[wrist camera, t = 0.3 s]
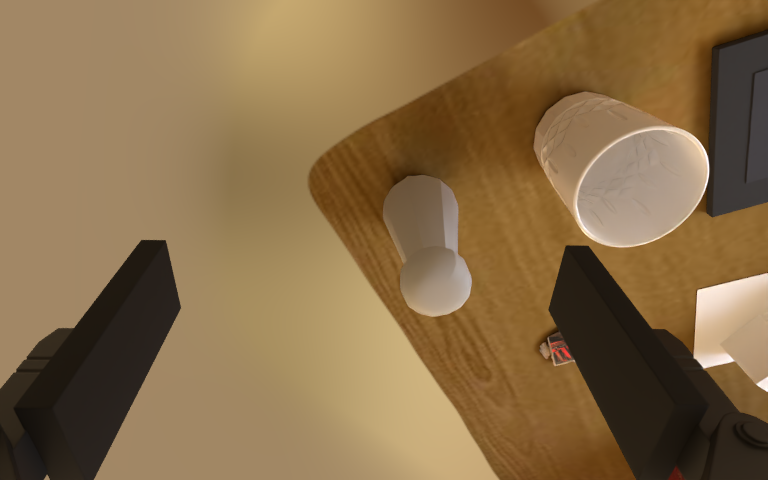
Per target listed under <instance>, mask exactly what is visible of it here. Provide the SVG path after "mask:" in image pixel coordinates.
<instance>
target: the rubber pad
mask: <svg viewBox="0 0 768 480" xmlns="http://www.w3.org/2000/svg"><path fill="white" fill-rule="evenodd" d="M708 161H709V178H708V187H707V214H708V215H710V216H711V217H715V216H719V215H722V214H726V213H730V212H733V211H737V210H740V209H744V208H748V207H751V206H755V205H759V204H762V203H766V202H768V30H766V31H763V32H760V33H757V34H753V35H750V36H747V37H744V38H741V39H738V40H735V41H731V42H728V43H725V44H722V45H719V46H716V47H713V48H712V75H711V103H710V131H709V159H708Z"/></svg>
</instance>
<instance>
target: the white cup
mask: <svg viewBox="0 0 768 480" xmlns="http://www.w3.org/2000/svg"><path fill="white" fill-rule="evenodd" d="M533 148H534V151H535V153H536V156H537V158H538V161H539V164H540V165H541V167H542V168H543V170H544V172H545V174H546V176H547V178H548V179H549V181H550V183H551V184H552V186H553V187H554V189H555V191H556V192H557V194H558V195H559V197H560V198H561V200H562V201H563V203H564V204H565V206H566V207H567V209H568V210H569V212H570V213H571V215H572V216H573V218H574V219H575V221H576V222H577V224H578V225H579V227H580V228H581V230H582V231H583V232H584V233H585V234H586V235H587V236H588V237H590V238H591V239H592V240H594V241H596V242H598V243H600V244H603V245H607V246H612V247H633V246H638V245H642V244H646V243H649V242H652V241H654V240H656V239H659V238H661V237H662V236H664V235H666V234H668V233H669V232H671V231H672V230H674V229H675V228H676V227H678V226H679V225H680V224H681V223H682V222H683V221H685V220H686V219H687V217H688V216H689V215H690V214H691V213H692V212H693V211H694V209H695V208H696V206H697V205H698V203H699V202H700V200H701V198H702V196H703V194H704V192H705V189H706V186H707V183H708V178H709V161H708V157H707V154H706V151H705V149H704V147H703V146H702V144H701V143H700V142H699V141H698V139H697V138H695V137H694V136H693V135H692V134H690V133H688V132H687V131H685V130H682V129H680V128H678V127H676V126H674V125H672V124H670V123H667V122H665V121H663V120H661V119H659V118H657V117H655V116H653V115H651V114H649V113H647V112H644V111H642V110H640V109H638V108H635V107H633V106H630V105H628V104H626V103H623V102H621V101H618V100H614V99H612V98H610V97H608V96H606V95H602V94H597V93H592V92H586V91H585V92H581V93H577V94H574V95H570V96H566V97H564V98H563V99H561V100H560V101H559V102H557V103H556V104H555V105H553V106H552V107H551V108H549V109H548V110H547V111H546V113H545V114H544V116H543V118H542V119H541V121H540V123H539V124H538V126H537V127H536V131H535V139H534V147H533Z"/></svg>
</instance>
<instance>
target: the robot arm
mask: <svg viewBox="0 0 768 480" xmlns="http://www.w3.org/2000/svg"><path fill="white" fill-rule="evenodd" d="M180 309H181V306H180V301H179V297H178V292H177V288H176V284H175V279H174V275H173V270H172V266H171V261H170V257H169V252H168V248H167V244H166V241H165V240H141V241H140V243H139V244H138V245H137V246H136V248H135V249H134V250H133V252H132V253H131V254H130V256H129V257H128V258H127V260H126V261H125V262H124V263H123V265H122V266H121V267H120V269H119V270H118V271H117V273H116V274H115V275H114V277H113V278H112V279H111V280H110V282H109V283H108V284H107V286H106V287H105V288H104V290H103V291H102V292H101V294H100V295H99V296H98V298H97V299H96V300H95V301H94V303H93V304H92V306H91V307H90V308H89V309H88V311H87V312H86V313H85V315H84V316H83V317H82V318H81V320H80V321H79V322H78V324H77V325H76V326H75V328H58V329H57V330H55V331H54V332H52V333H51V334H50V335H48V336H47V337H45V338H44V339H42V340H41V341H40V342H39V343H38V344H37V345H36V346H35V348H34V349H33V350H32V351H31V353H30V354H29V355H28V356H27V359H26V360H24V361H23V362H22V364H21V365H20V366H19V367H18V368H17V371H16V373H13V374H12V375H11V377H10V378H9V379H8V380H7V381H6V383H5V384H4V385H3V386H2V388H1V389H0V480H44V478H45V477H46V475H48V476H49V478H50V480H94V478H95V476H96V474H97V472H98V470H99V468H100V466H101V464H102V462H103V461H104V458H105V457H106V455H107V453H108V451H109V449H110V447H111V445H112V443H113V441H114V439H115V437H116V435H117V433H118V431H119V429H120V427H121V425H122V423H123V421H124V419H125V417H126V415H127V413H128V411H129V409H130V407H131V405H132V403H133V401H134V399H135V397H136V396H137V394H138V391H139V390H140V388H141V386H142V384H143V382H144V380H145V378H146V376H147V374H148V372H149V370H150V368H151V366H152V364H153V362H154V360H155V358H156V356H157V354H158V352H159V350H160V348H161V346H162V344H163V342H164V340H165V338H166V336H167V334H168V333H169V331H170V328H171V327H172V325H173V323H174V321H175V319H176V317H177V315H178V313H179V311H180ZM549 312H550V314H551V316H552V318H553V320H554V322H555V324H556V326H557V327H558V329H559V331H560V333H561V335H562V337H563V339H564V341H565V343H566V345H567V347H568V349H569V351H570V353H571V354H572V356H573V358H574V360H575V362H576V364H577V366H578V368H579V370H580V372H581V374H582V376H583V378H584V380H585V381H586V383H587V385H588V387H589V389H590V391H591V393H592V395H593V397H594V399H595V401H596V403H597V405H598V407H599V408H600V410H601V412H602V414H603V416H604V418H605V420H606V422H607V424H608V426H609V428H610V430H611V432H612V434H613V435H614V437H615V439H616V441H617V443H618V445H619V447H620V449H621V451H622V453H623V455H624V457H625V459H626V461H627V462H628V464H629V466H630V468H631V470H632V472H633V474H634V476H635V478H636V480H668V479H669V477H670V475H671V473H672V472H673V470H674V468H675V466H677V468H678V469H679V471H680V473H681V474H682V476H683V477H684V479H685V480H768V424H767V423H766V422H764V421H762V420H760V419H758V418H757V417H754V416H751V415H748V414H745V413H740V412H739V411H738V410H737V408H736V407H735V406H734V405H733V403H732V402H731V401H730V400H729V399H728V397H727V396H726V395H725V394H724V392H723V391H722V390H721V389H720V388H719V386H718V385H717V384H716V383H715V381H714V380H713V379H712V378H711V377H710V375H709V374H708V373H707V372H706V371H704V370H703V367H702V366H701V364H700V363H699V362H698V361H697V359H694V356H693V355H692V353H691V352H690V351H689V350H688V348H687V347H686V346H685V345H684V344H683V342H682V341H680V340H679V339H678V338H676V337H675V336H673V335H672V334H671V333H669V332H668V331H667V330H665V329H652V328H651V327H650V326H649V325H648V323H647V322H646V321H645V319H644V318H643V317H642V315H641V314H640V313H639V311H638V310H637V309H636V308H635V306H634V305H633V304H632V302H631V301H630V300H629V298H628V297H627V296H626V294H625V293H624V292H623V291H622V289H621V288H620V287H619V285H618V284H617V283H616V281H615V280H614V279H613V278H612V276H611V275H610V274H609V272H608V271H607V270H606V268H605V267H604V266H603V264H602V263H601V262H600V261H599V259H598V258H597V257H596V255H595V254H594V253H593V251H592V250H591V249H590V247H589V246H566V247H565V251H564V254H563V258H562V262H561V266H560V269H559V273H558V277H557V280H556V284H555V288H554V291H553V295H552V299H551V302H550V306H549Z"/></svg>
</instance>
